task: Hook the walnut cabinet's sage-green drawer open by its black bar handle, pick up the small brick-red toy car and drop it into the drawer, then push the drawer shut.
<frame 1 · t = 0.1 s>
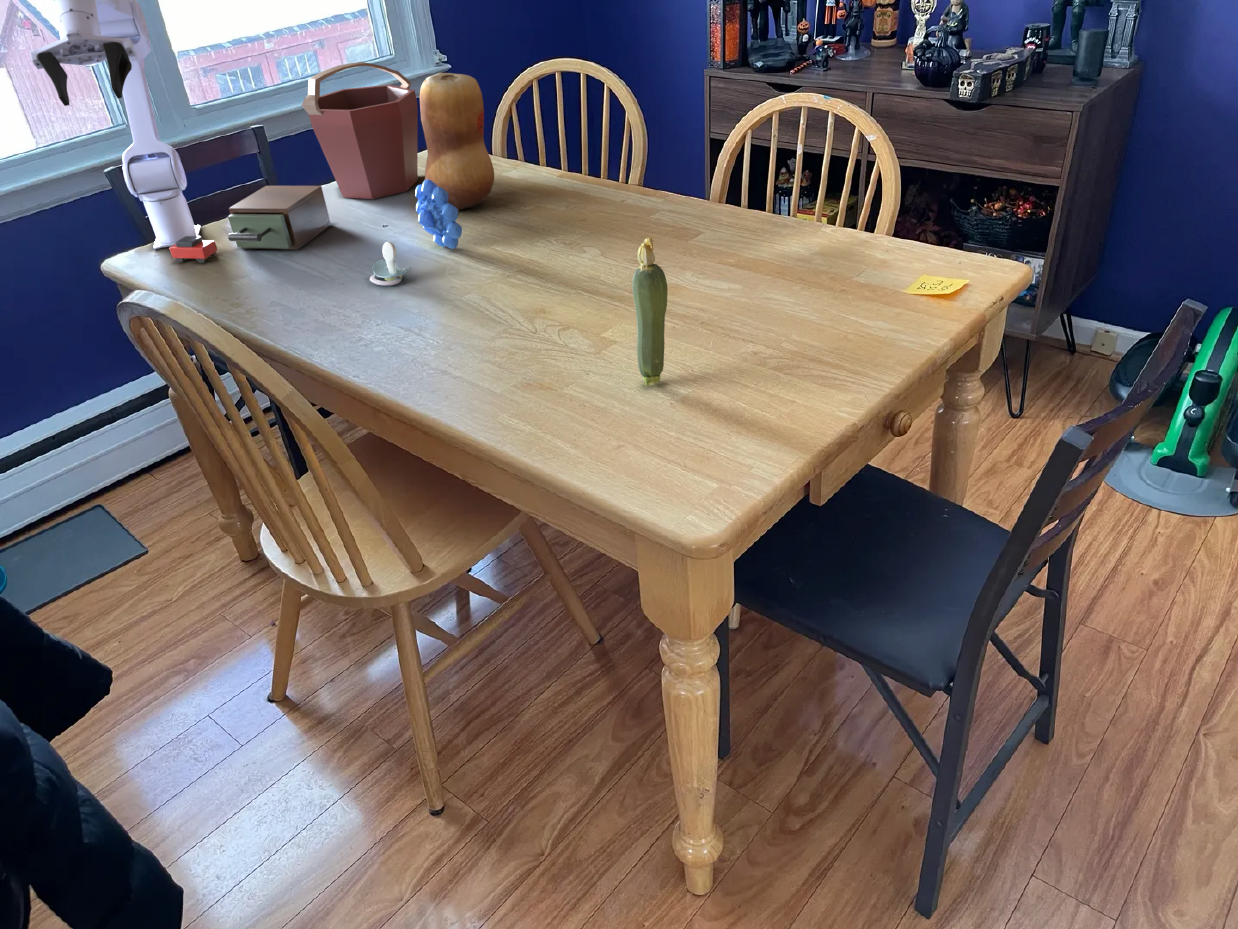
hand: (90, 97, 142), 32 cm above the table, tool tilted 50°, fingers open, 7 cm apart
vegetable: (655, 382, 121), on the table
bucket: (376, 187, 202), on the table
cabinet: (287, 236, 179), on the table
pacifier: (390, 280, 157), on the table
grapes: (440, 249, 168), on the table
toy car: (197, 258, 172), on the table
butternut squash: (465, 207, 186), on the table
drawer: (268, 225, 173), point 4 cm above the table, slide at 0.5 cm
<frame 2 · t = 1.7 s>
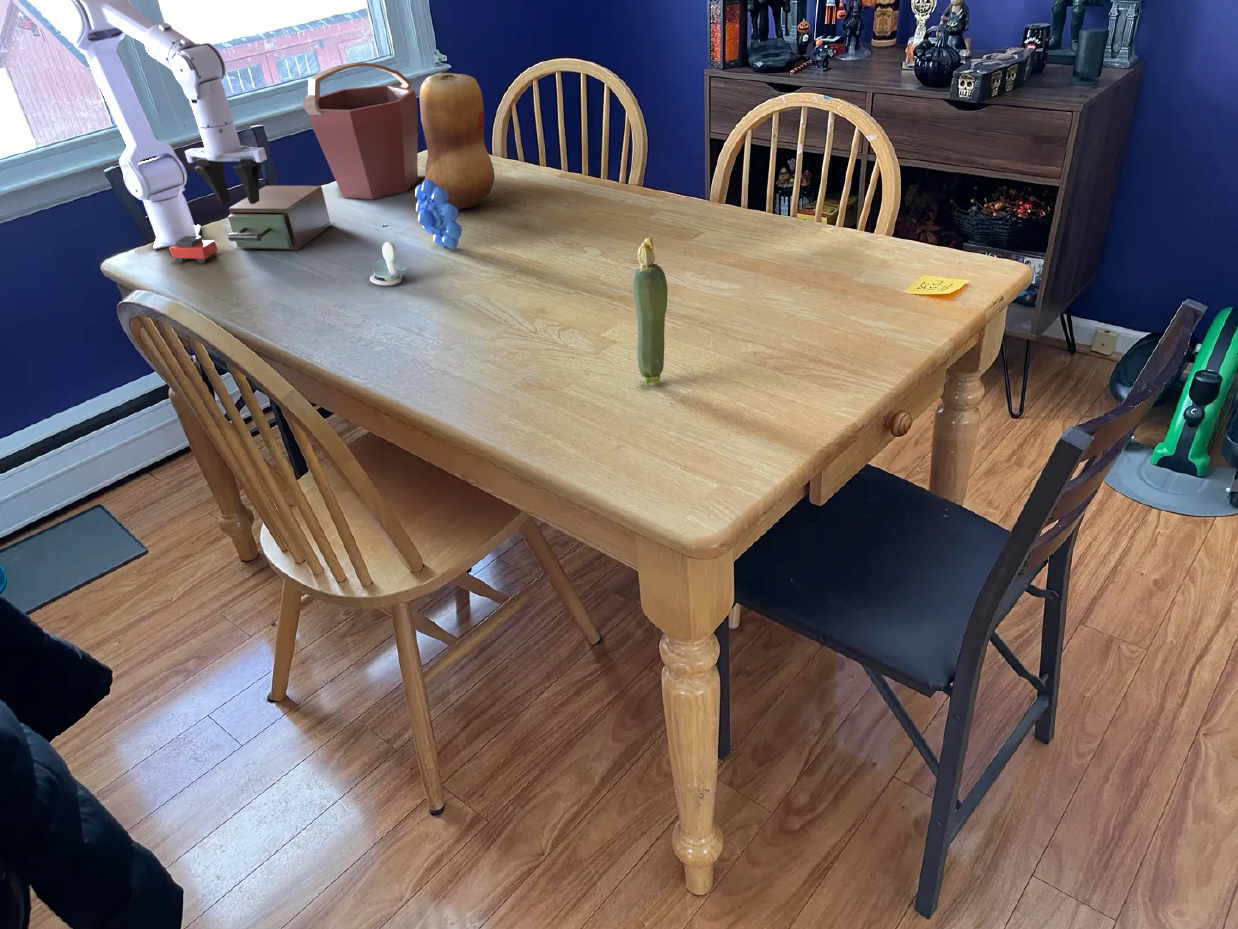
hand: (240, 202, 165), 10 cm above the table, tool pointing down, fingers open, 5 cm apart
nothing on the table moved.
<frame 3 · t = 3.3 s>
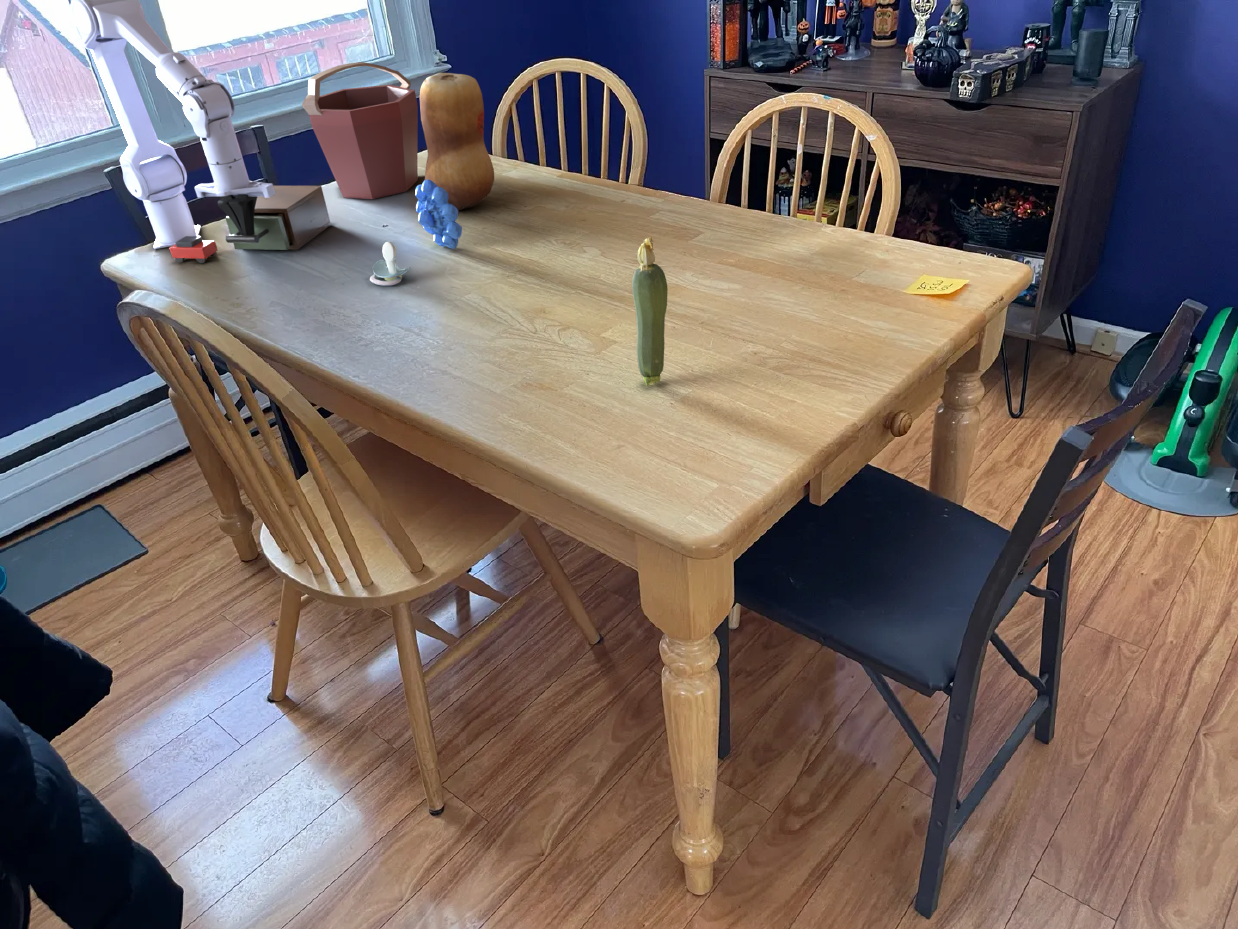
hand: (248, 235, 168), 4 cm above the table, tool pointing down, fingers closed
drawer: (266, 226, 173), point 4 cm above the table, slide at 1.3 cm
everything else where it was.
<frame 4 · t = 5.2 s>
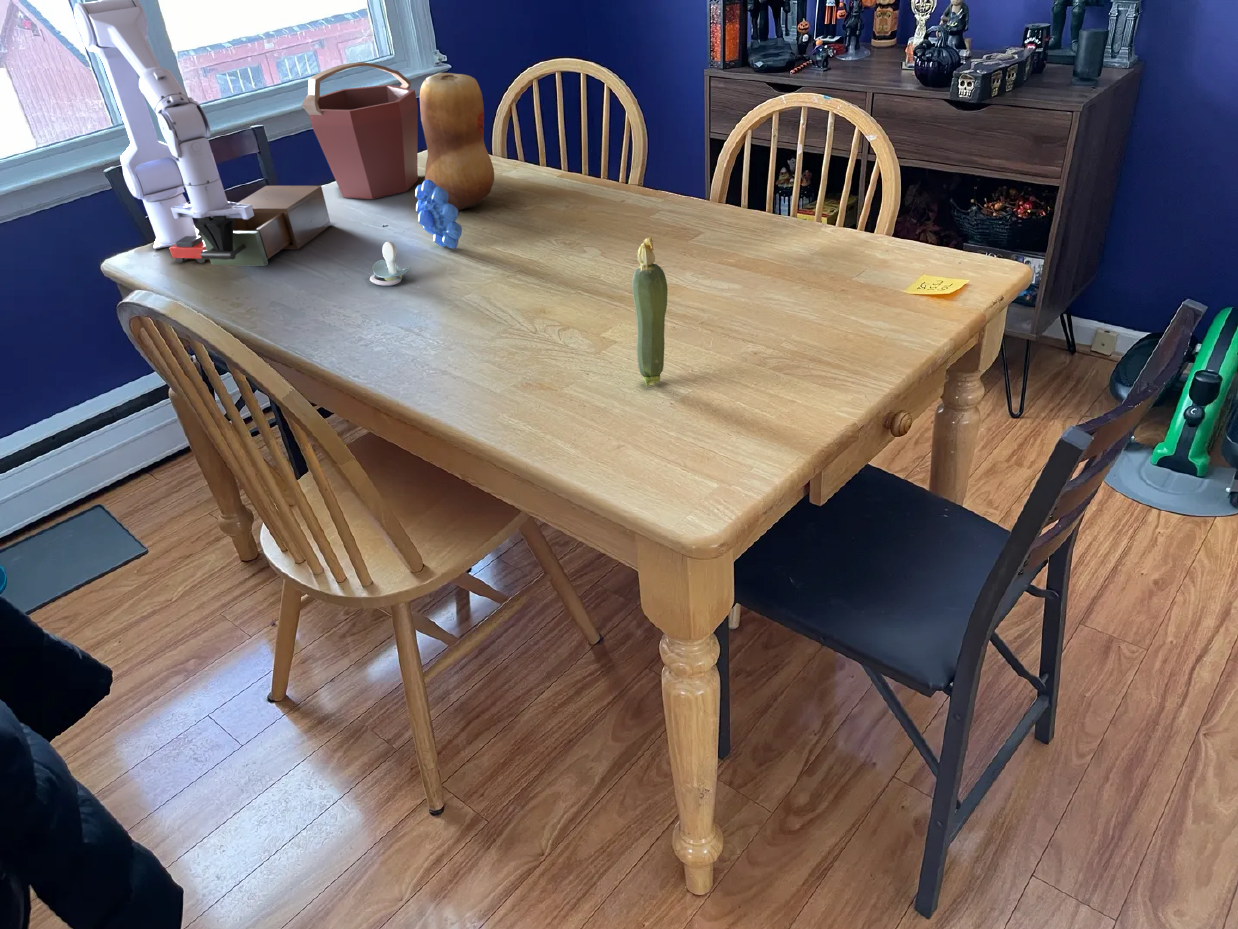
hand: (227, 257, 162), 3 cm above the table, tool pointing down, fingers closed, pressing on drawer
drawer: (243, 241, 166), point 4 cm above the table, slide at 8.9 cm, touching gripper
everything else where it was.
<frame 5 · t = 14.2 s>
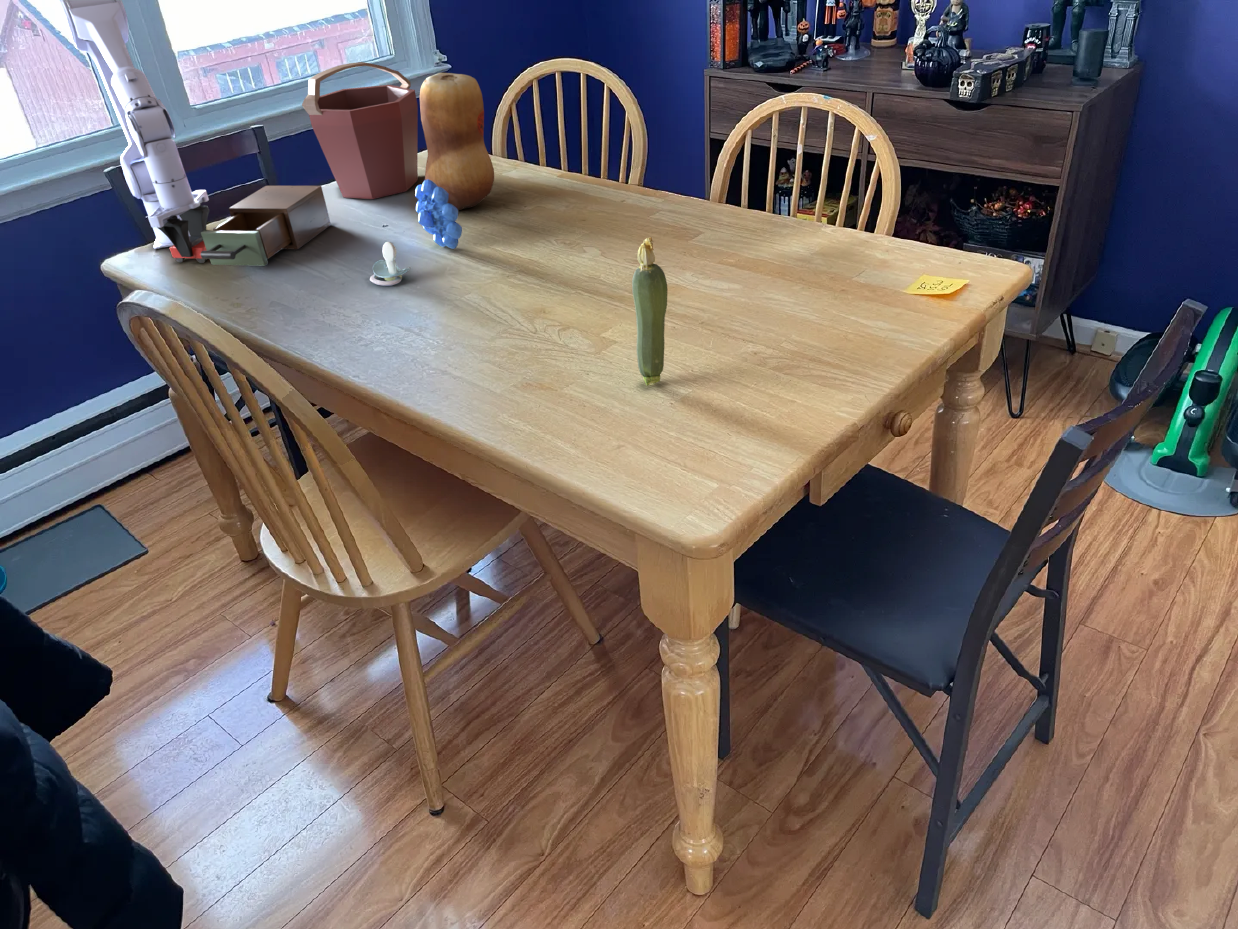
hand: (194, 251, 171), 1 cm above the table, tool pointing down, fingers closed on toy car, 4 cm apart
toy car: (197, 258, 172), on the table, touching gripper
drawer: (243, 241, 166), point 4 cm above the table, slide at 8.9 cm
everything else where it was.
when the fingers open (6 cm above the table, at t = 18.3 s): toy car drops 3 cm, resting on drawer.
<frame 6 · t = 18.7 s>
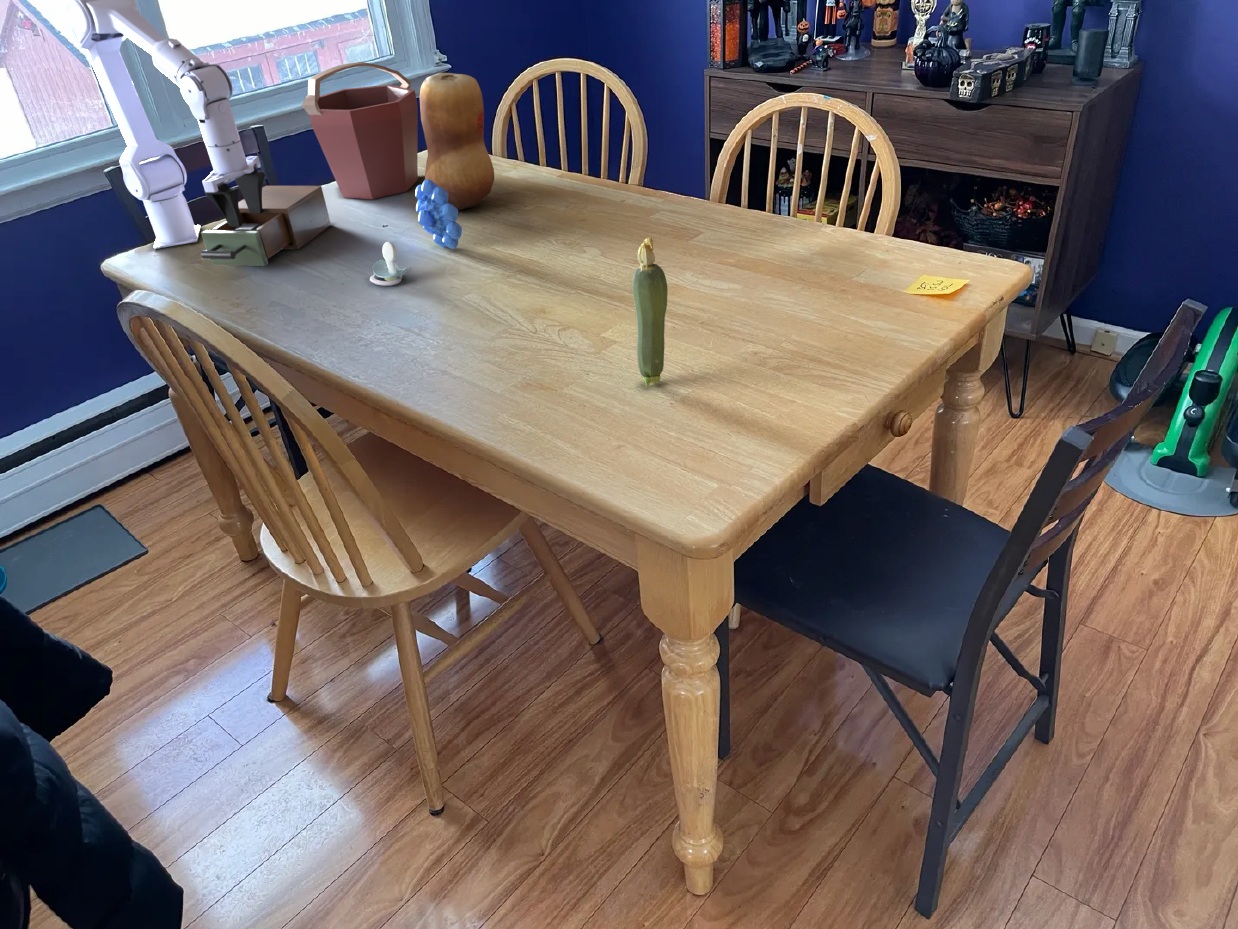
hand: (246, 219, 167), 7 cm above the table, tool pointing down, fingers open, 6 cm apart
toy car: (254, 246, 170), point 2 cm above the table, touching drawer
drawer: (243, 241, 166), point 4 cm above the table, slide at 8.9 cm, touching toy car
everything else where it was.
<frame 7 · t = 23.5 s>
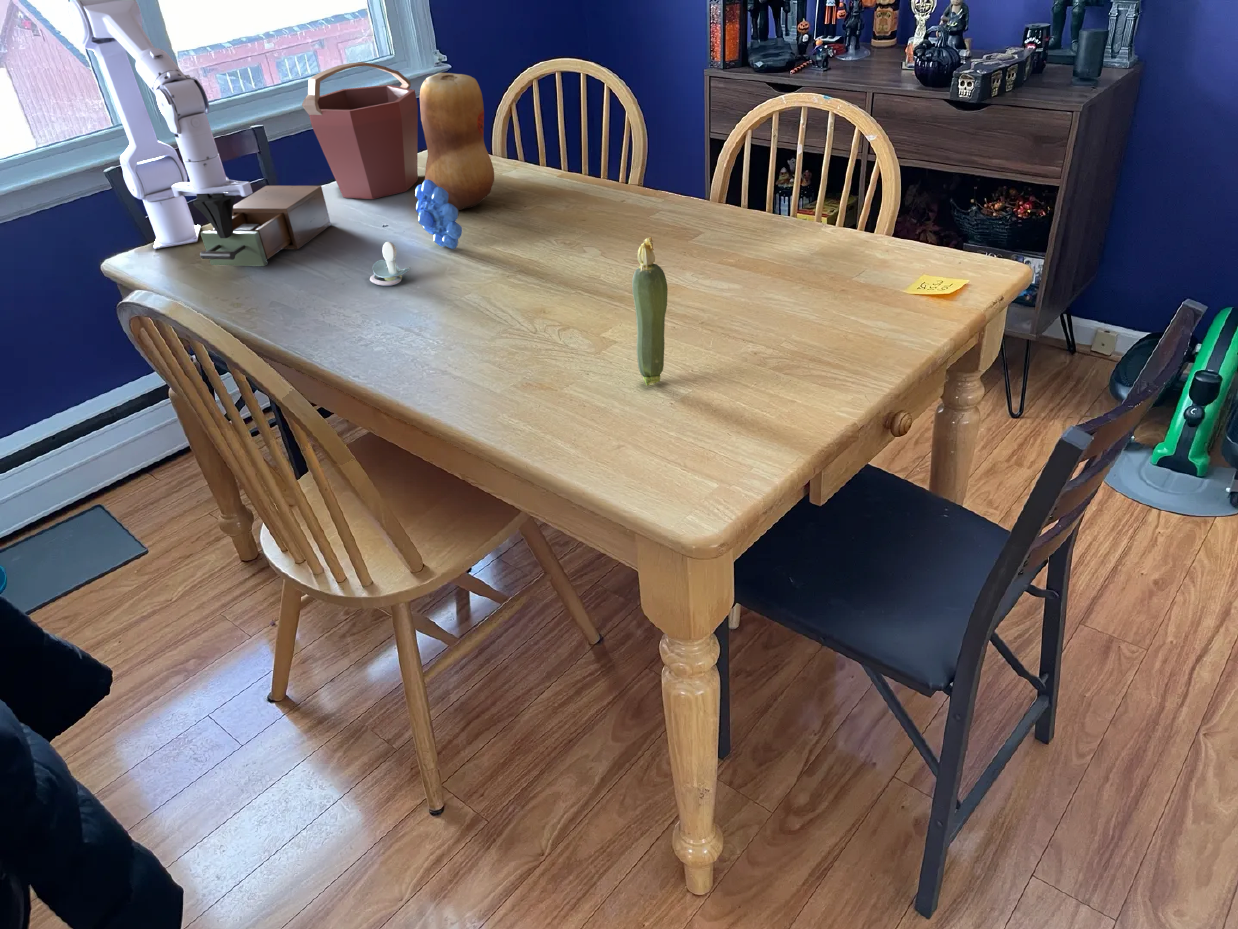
hand: (227, 236, 162), 6 cm above the table, tool pointing down, fingers closed, pressing on drawer
drawer: (243, 242, 166), point 4 cm above the table, slide at 9.1 cm, touching gripper, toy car
everything else where it was.
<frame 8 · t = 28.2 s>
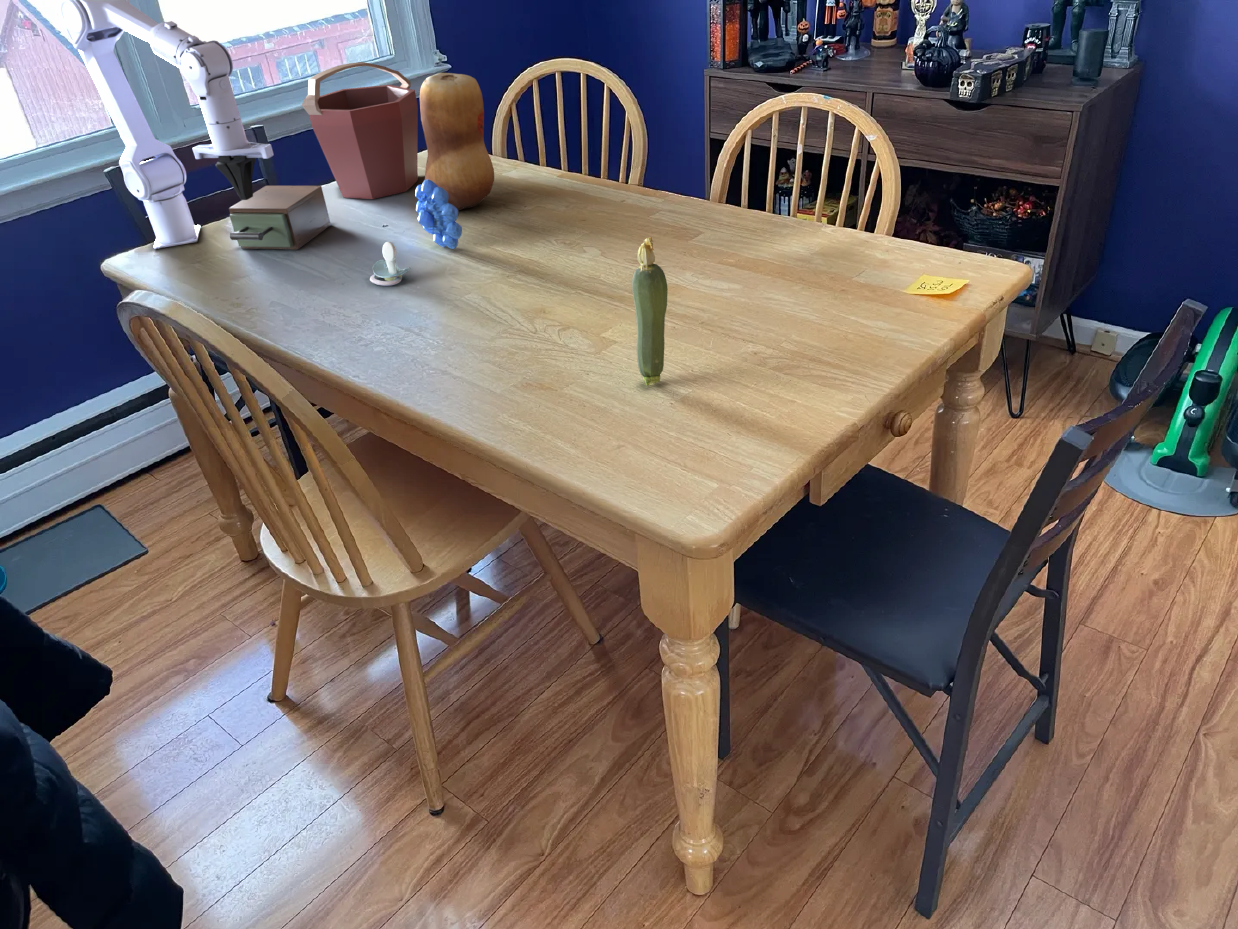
hand: (246, 198, 166), 10 cm above the table, tool pointing down, fingers closed
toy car: (280, 229, 177), point 2 cm above the table, touching drawer
drawer: (270, 224, 174), point 4 cm above the table, slide at 0.0 cm, touching cabinet, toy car
everything else where it was.
at the end: drawer pulled out 9.1 cm at the most during the clip, back to where it started at the end; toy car 1.4 cm from the target spot in the cabinet, point 2.0 cm above the cabinet's base; drawer slide at 0.0 cm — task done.
